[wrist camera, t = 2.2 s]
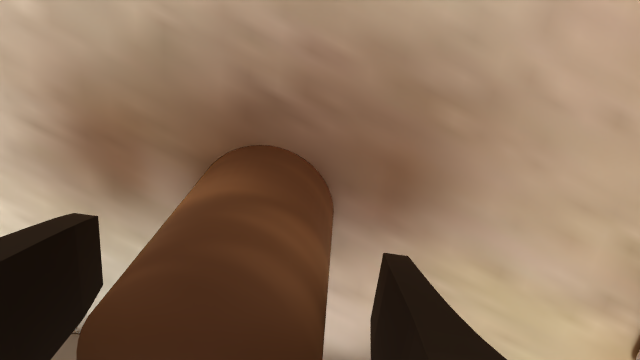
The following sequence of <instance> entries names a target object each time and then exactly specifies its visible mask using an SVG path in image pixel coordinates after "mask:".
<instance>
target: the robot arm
mask: <svg viewBox="0 0 640 360" xmlns="http://www.w3.org/2000/svg"><path fill="white" fill-rule="evenodd" d="M102 286H103V277H102V264H101V250H100V237H99V223H98V216H92V215H85V214H77V213H73V214H68V215H64V216H61V217H57V218H54V219H51V220H48V221H45V222H42V223H39V224H36V225H34V226H31V227H28V228H25V229H22V230H20V231H17V232H14V233H11V234H8V235H5V236H3V237H0V360H51V359H52V358H53V356H54V355H55V354H56V353H57V351H58V350H59V349H60V348H61V346H62V345H63V344H64V343H65V341H66V340H67V339H68V338H69V336H70V335H71V334H72V332H73V331H74V330H75V329H76V327H77V326H78V325H79V323H80V322H81V321H82V320H83V318H84V317H85V315H86V313H87V312H88V310H89V308H90V307H91V305H92V304H93V302H94V300H95V298H96V296H97V295H98V293H99V291H100V289H101V288H102ZM371 360H507V359H506V358H504V357H503V356H502V355H501V354H500V353H499V352H497V351H496V350H495V349H494V348H493V347H491V346H490V345H489V344H488V343H487V342H486V341H484V340H483V339H482V338H481V337H480V336H479V335H478V334H477V333H476V332H475V331H474V330H473V329H472V328H471V327H470V326H469V325H468V324H467V323H466V322H465V321H464V320H463V319H462V318H461V317H460V316H459V315H458V314H457V313H456V312H455V311H454V310H453V309H452V308H451V307H450V306H449V305H448V304H447V302H446V301H445V300H444V299H443V298H442V297H441V296H440V294H439V293H438V292H437V291H436V290H435V289H434V287H433V286H432V285H431V284H430V283H429V281H428V280H427V279H426V278H425V277H424V275H423V274H422V273H421V272H420V270H419V269H418V268H417V267H416V265H415V264H414V263H413V262H412V260H411V259H410V258H409V257H408V256H404V255H396V254H388V253H383V258H382V263H381V268H380V273H379V279H378V284H377V289H376V294H375V299H374V305H373V310H372V315H371ZM636 360H640V351H639V353H638V355H637V357H636Z"/></svg>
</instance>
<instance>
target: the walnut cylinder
mask: <svg viewBox="0 0 640 360" xmlns="http://www.w3.org/2000/svg"><path fill="white" fill-rule="evenodd" d="M332 226H333V202H332V198H331V194H330V191H329V189H328V186H327V185H326V183H325V181H324V179H323V178H322V176H321V175H320V174H319V172H318V171H317V170H316V169H315V168H314V167H313V166H312V165H311V164H310V163H308V162H307V161H306V160H305V159H303V158H301V157H300V156H298V155H297V154H294V153H292V152H290V151H288V150H285V149H282V148H278V147H273V146H264V145H256V146H247V147H242V148H239V149H236V150H233V151H231V152H229V153H227V154H225V155H224V156H222V157H221V158H219V159H218V160H217V161H216V162H214V163H213V164H212V165H211V167H210V168H209V169H208V170H207V171H206V173H205V174H204V175H203V176H202V178H201V179H200V180H199V181H198V182H197V184H196V185H195V186H194V187H193V189H192V190H191V191H190V192H189V193H188V195H187V196H186V197H185V198H184V200H183V201H182V202H181V203H180V205H179V206H178V207H177V208H176V209H175V211H174V212H173V213H172V214H171V216H170V217H169V218H168V219H167V220H166V222H165V223H164V224H163V225H162V227H161V228H160V229H159V230H158V231H157V233H156V234H155V235H154V236H153V238H152V239H151V240H150V241H149V242H148V244H147V245H146V246H145V247H144V249H143V250H142V251H141V252H140V254H139V255H138V256H137V257H136V258H135V260H134V261H133V262H132V263H131V265H130V266H129V267H128V268H127V269H126V271H125V272H124V273H123V274H122V276H121V277H120V278H119V279H118V280H117V282H116V283H115V284H114V285H113V287H112V288H111V289H110V290H109V292H108V293H107V294H106V295H105V296H104V298H103V299H102V300H101V301H100V303H99V304H98V305H97V306H96V307H95V309H94V310H93V311H92V312H91V314H90V315H89V316H88V318H87V320H86V321H85V323H84V325H83V327H82V329H81V332H80V335H79V338H78V344H77V351H76V355H77V360H322V357H323V344H324V331H325V318H326V305H327V292H328V279H329V265H330V252H331V239H332Z"/></svg>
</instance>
